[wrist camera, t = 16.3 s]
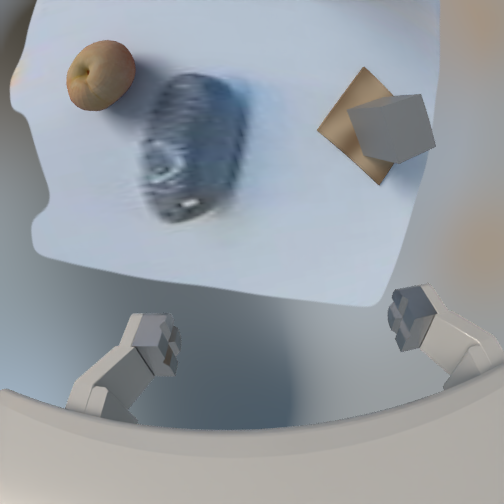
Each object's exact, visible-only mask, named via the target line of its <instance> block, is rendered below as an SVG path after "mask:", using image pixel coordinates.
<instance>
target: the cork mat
mask: <svg viewBox="0 0 504 504" xmlns="http://www.w3.org/2000/svg"><path fill="white" fill-rule="evenodd" d="M388 96H393V95H392V94H391V93H390V92H389V91H388V90H387V89H386V87H385V86H384V85H383V84H382V83H381V82H380V81H379V80H378V79H377V78H376V77H375V76H374V75H373V74H371V73H370V72H369V71H368V70H367V69H366V68H365V67H363V68H362V69H361V71H360V72H359V73H358V75H357V76H356V77H355V79H354V80H353V81H352V83H351V84H350V85H349V87H348V88H347V89H346V91H345V92H344V93H343V95H342V96H341V98H340V99H339V100H338V102H337V103H336V104H335V106H334V107H333V108H332V110H331V111H330V113H329V114H328V115H327V117H326V118H325V119H324V121H323V122H322V124H321V125H320V126H319V128H318V129H317V131H318V132H319V133H321V134H322V135H323V136H324V137H326V138H327V139H328V140H329V141H330V142H332V143H333V144H334V145H335V146H336V147H337V148H339V149H340V150H341V151H342V152H343V153H344V154H346V155H347V156H348V157H349V158H350V159H351V160H352V161H353V162H354V163H356V164H357V165H358V166H359V167H360V168H361V169H362V170H363V171H364V172H365V173H366V174H367V175H369V176H370V177H371V178H372V179H373V180H374V181H375V182H376V183H377V184H378V185H380V183H381V182H382V180H383V179H384V178H385V176H386V175H387V173H388V172H389V170H390V169H391V167H392V166H393V164H394V163H393V162H389V161H385V160H381V159H377V158H373V157H368V156H364V155H363V153H362V150H361V147H360V144H359V141H358V139H357V136H356V133H355V130H354V128H353V125H352V123H351V120H350V117H349V115H348V112H347V109H350V108H352V107H355V106H358V105H361V104H364V103H367V102H370V101H373V100H376V99H379V98H382V97H388Z"/></svg>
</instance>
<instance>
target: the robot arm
mask: <svg viewBox="0 0 504 504" xmlns="http://www.w3.org/2000/svg"><path fill="white" fill-rule="evenodd" d="M392 299H393V301H394V302H393V303H392V304H391V305H390V306H389V310H388V322H389V326H390V328H391V330H392V331H394V332H395V333H397V335H396V338H395V340H396V341H397V344H398V346H399V349H400V351H401V352H404V351H408V350H412V349H416V348H420V350H421V351H423V352H424V353H425V354H426V355H427V356H428V357H430V358H431V359H432V360H433V361H434V362H435V363H436V364H438V365H439V366H440V367H441V368H442V369H443V370H444V371H446V372H447V373H448V374H449V375H450V377H449V378H448V380H447V381H446V382H445V384H444V386H443V389H444V391H441V392H438V393H436V394H433V395H430V396H427V397H424V398H421V399H418V400H415V401H413V402H409V403H406V404H403V405H399V406H396V407H392V408H389V409H385V410H381V411H377V412H373V413H369V414H365V415H360V416H356V417H351V418H346V419H340V420H335V421H329V422H323V423H316V424H309V425H301V426H293V427H283V428H270V429H252V430H197V429H180V428H168V427H158V426H149V425H141V424H137V422H138V420H137V419H136V417H135V416H134V415H132V414H131V413H130V412H129V411H128V409H129V408H130V407H131V406H132V405H133V403H134V402H135V401H136V400H137V398H138V397H139V396H140V395H141V394H142V392H143V391H144V390H145V389H146V387H147V386H148V385H149V384H150V382H151V381H152V380H153V379H154V376H176V370H177V365H178V361H177V359H176V356H177V355H178V354H179V353H180V350H181V336H180V332H179V330H178V328H177V327H175V326H174V325H173V324H174V318H173V316H172V315H171V314H170V313H145V314H132V315H131V317H130V319H129V321H128V324H127V326H126V329H125V332H124V334H123V337H122V339H121V342H120V345H119V346H115V347H114V348H113V349H112V350H110V351H109V352H108V353H107V354H106V355H105V356H104V357H102V358H101V359H100V360H99V361H98V362H97V363H95V364H94V365H93V366H92V367H91V368H90V369H89V370H87V371H86V372H85V373H84V374H83V375H82V376H81V377H79V378H78V379H77V380H76V381H75V383H74V385H73V388H72V390H71V393H70V396H69V399H68V401H67V404H66V407H65V409H64V408H61V407H57V406H54V405H51V404H48V403H45V402H41V401H39V400H36V399H33V398H30V397H27V396H25V395H22V394H19V393H17V392H14V391H12V390H9V389H2V390H0V504H504V351H503V349H502V348H501V346H500V344H499V343H498V341H497V339H496V338H495V336H493V335H492V334H490V333H488V332H487V331H485V330H483V329H482V328H480V327H479V326H477V325H475V324H473V323H472V322H470V321H469V320H467V319H465V318H463V317H462V316H460V315H459V314H457V313H455V312H453V311H448V309H447V308H446V306H445V305H444V303H443V302H442V300H441V298H440V297H439V295H438V294H437V293H436V291H435V290H434V288H433V287H432V285H431V284H429V283H426V284H421V285H417V286H411V287H406V288H400V289H395V291H394V292H393V295H392Z"/></svg>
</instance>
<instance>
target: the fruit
mask: <svg viewBox="0 0 504 504" xmlns="http://www.w3.org/2000/svg"><path fill="white" fill-rule="evenodd" d="M134 76H135V63H134V59H133V57H132V55H131V53H130V52H129V50H128V49H127V48H126V47H125V46H124V45H123V44H121V43H118V42H116V41H110V40H105V41H98V42H96V43H93V44H91V45H89V46H87V47H85V48H84V49H83V50H82V51H81V52H80V53H79V54H78V55H77V56H76V58H75V59H74V61H73V62H72V64H71V66H70V68H69V70H68V73H67V89H68V93H69V96H70V99H71V101H72V102H73V103H74V104H75V105H76V106H77V107H79V108H81V109H83V110H88V111H100V110H103V109H106V108H108V107H109V106H110V105H112V104H113V103H114V102H116V101H117V100H118V99H119V98H120V97H121V96H122V95H123V94H124V93H125V92H126V91H127V90H128V89H129V87H130V86H131V84H132V82H133V80H134Z"/></svg>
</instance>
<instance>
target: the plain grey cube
mask: <svg viewBox="0 0 504 504" xmlns="http://www.w3.org/2000/svg"><path fill="white" fill-rule="evenodd" d="M347 112H348V115H349V117H350V120H351V123H352V125H353V128H354V130H355V133H356V136H357V139H358V141H359V144H360V147H361V150H362V153H363V155H364V156H368V157H373V158H377V159H381V160H385V161H389V162H393V163H397V164H400V163H402V162H404V161H406V160H408V159H410V158H412V157H415V156H417V155H419V154H421V153H423V152H425V151H427V150H429V149H432V148H434V147H436V145H435V141H434V137H433V133H432V129H431V125H430V122H429V118H428V115H427V111H426V108H425V105H424V102H423V99H422V96H421V94H415V95H400V96H388V97H382V98H379V99H376V100H373V101H370V102H367V103H364V104H361V105H358V106H355V107H352V108H350V109H347Z"/></svg>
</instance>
